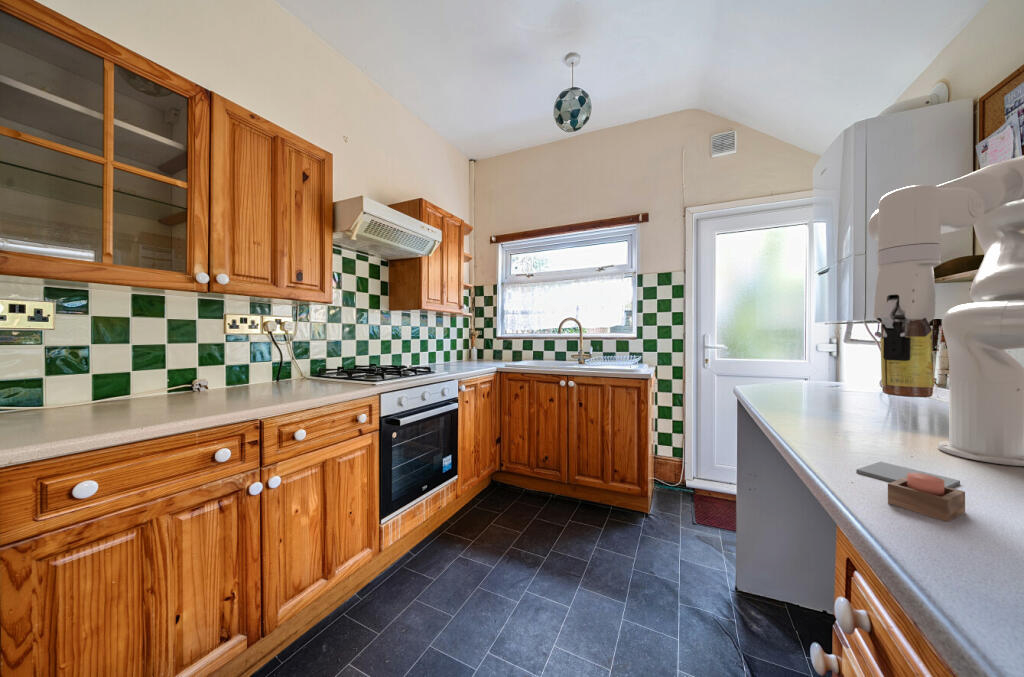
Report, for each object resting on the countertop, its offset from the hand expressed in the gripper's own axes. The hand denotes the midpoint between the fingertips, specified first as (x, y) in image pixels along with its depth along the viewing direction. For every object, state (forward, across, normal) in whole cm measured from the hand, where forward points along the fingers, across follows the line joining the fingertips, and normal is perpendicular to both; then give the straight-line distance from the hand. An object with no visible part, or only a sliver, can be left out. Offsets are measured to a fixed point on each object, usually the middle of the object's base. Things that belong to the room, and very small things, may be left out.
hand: (906, 358), depth 63 cm
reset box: (+22, +12, +6) cm, 26 cm away
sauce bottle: (+7, 0, 0) cm, 7 cm away
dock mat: (+21, 0, 0) cm, 21 cm away
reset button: (+19, +12, +6) cm, 24 cm away
